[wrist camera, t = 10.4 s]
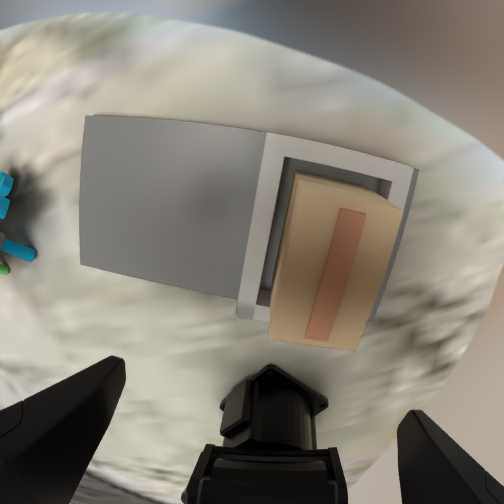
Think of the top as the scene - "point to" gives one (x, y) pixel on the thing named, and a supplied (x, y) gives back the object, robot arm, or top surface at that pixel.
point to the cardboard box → (330, 261)
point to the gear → (3, 184)
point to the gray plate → (208, 202)
